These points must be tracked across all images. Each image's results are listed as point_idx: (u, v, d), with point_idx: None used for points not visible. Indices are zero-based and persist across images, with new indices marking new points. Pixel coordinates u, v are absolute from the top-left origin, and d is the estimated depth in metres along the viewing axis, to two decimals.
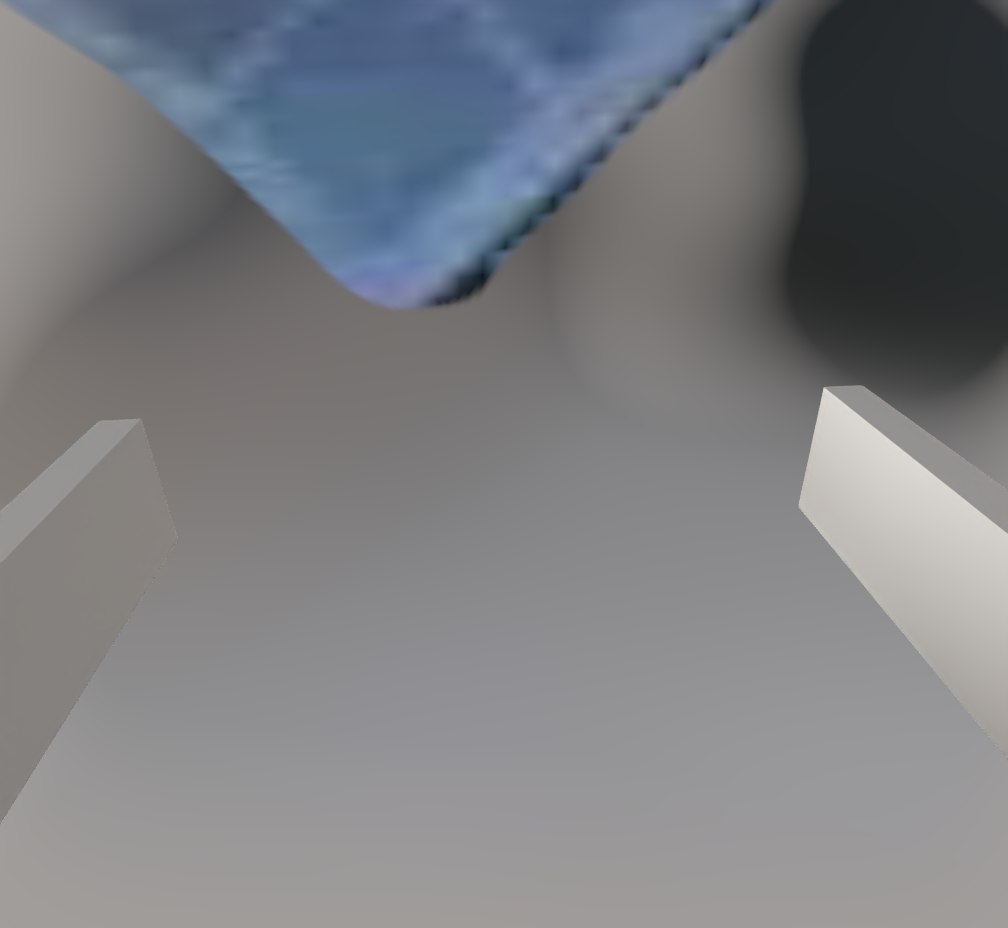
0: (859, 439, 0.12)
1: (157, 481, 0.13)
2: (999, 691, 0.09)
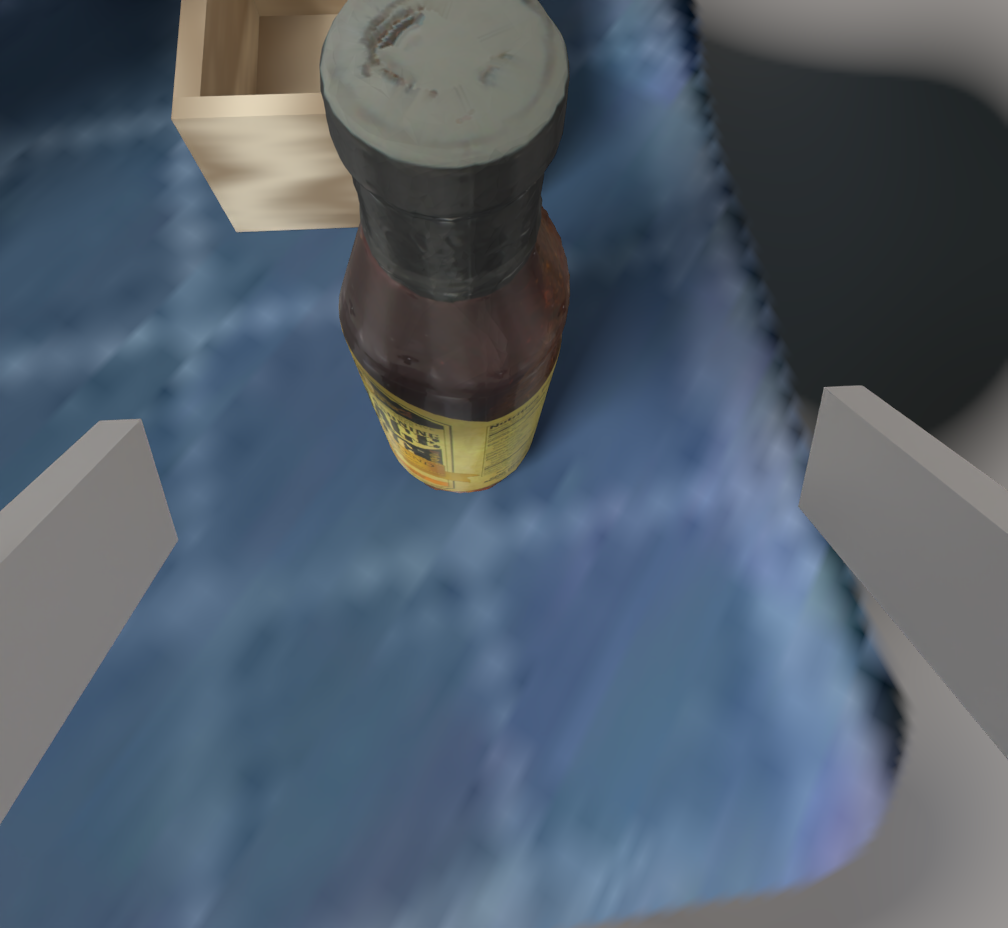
0: (860, 438, 0.12)
1: (157, 481, 0.13)
2: (999, 691, 0.09)
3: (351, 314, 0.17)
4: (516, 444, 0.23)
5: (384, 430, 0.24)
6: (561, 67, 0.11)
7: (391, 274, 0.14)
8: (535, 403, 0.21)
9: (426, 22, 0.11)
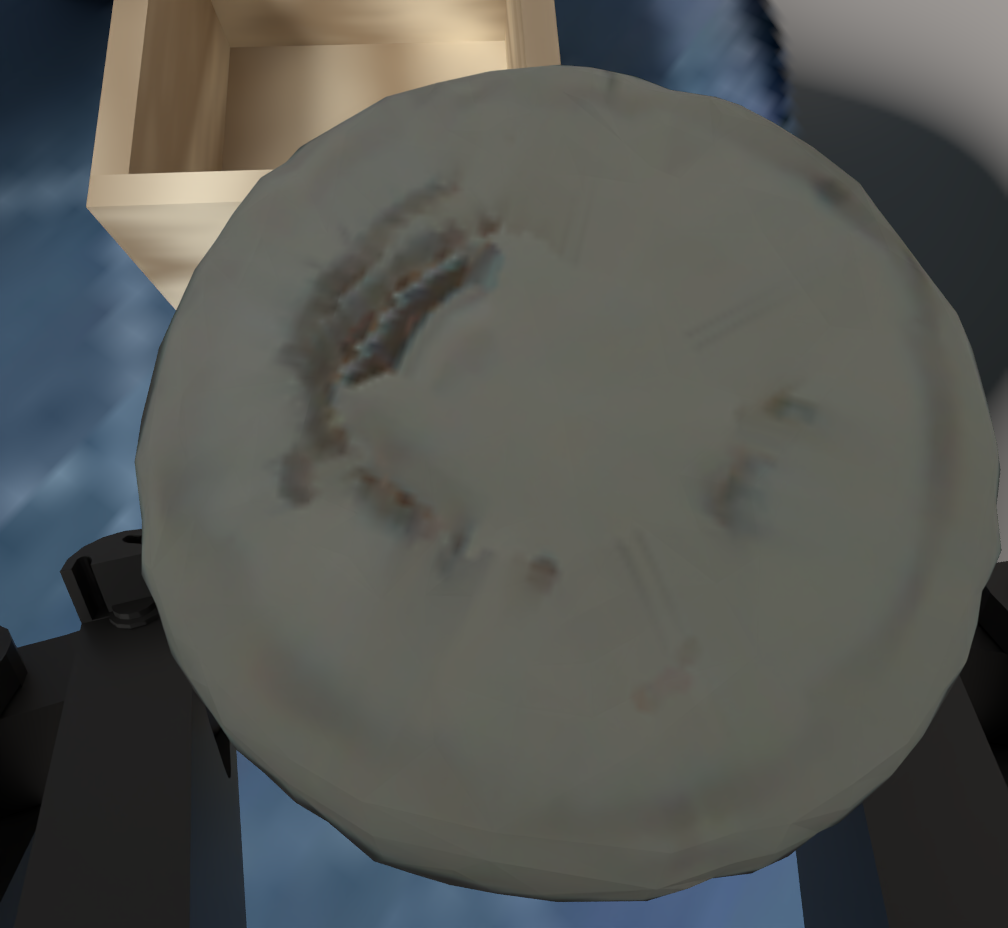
0: None
1: None
2: None
3: None
4: None
5: None
6: (978, 438, 0.03)
7: None
8: None
9: (508, 280, 0.03)
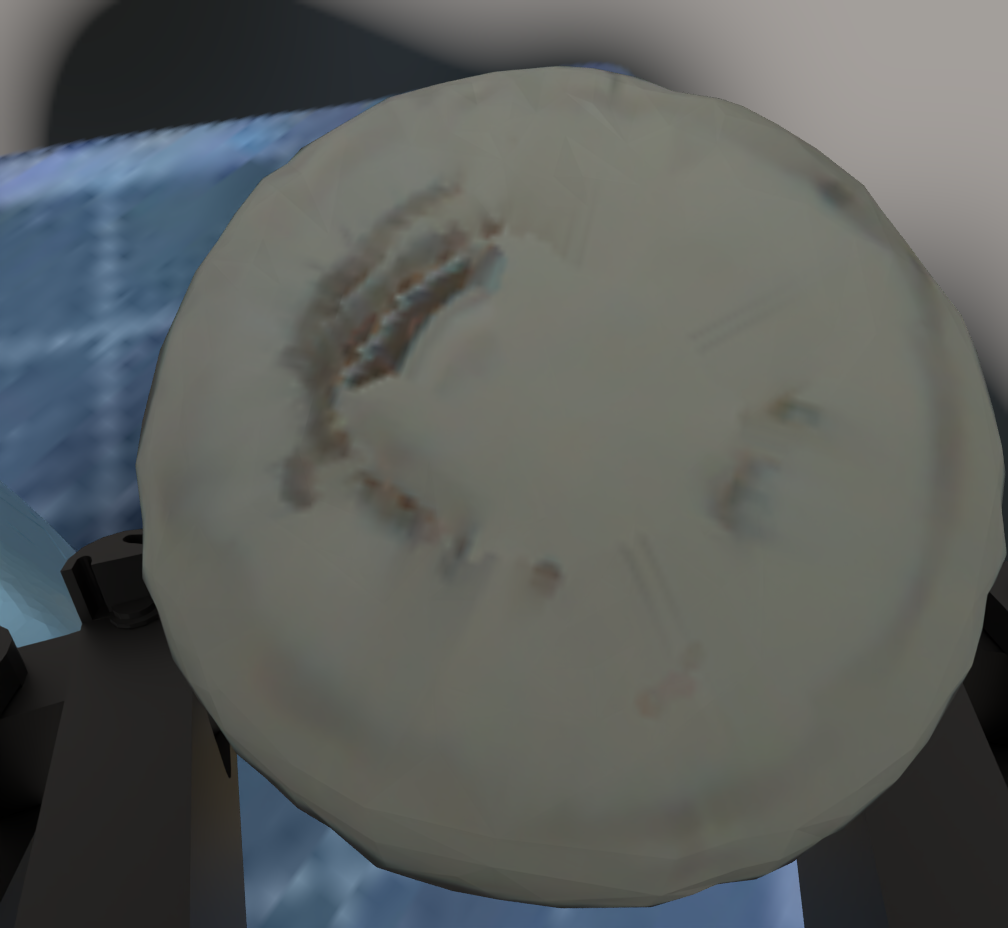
0: None
1: None
2: None
3: None
4: None
5: None
6: (982, 442, 0.03)
7: None
8: None
9: (510, 281, 0.03)
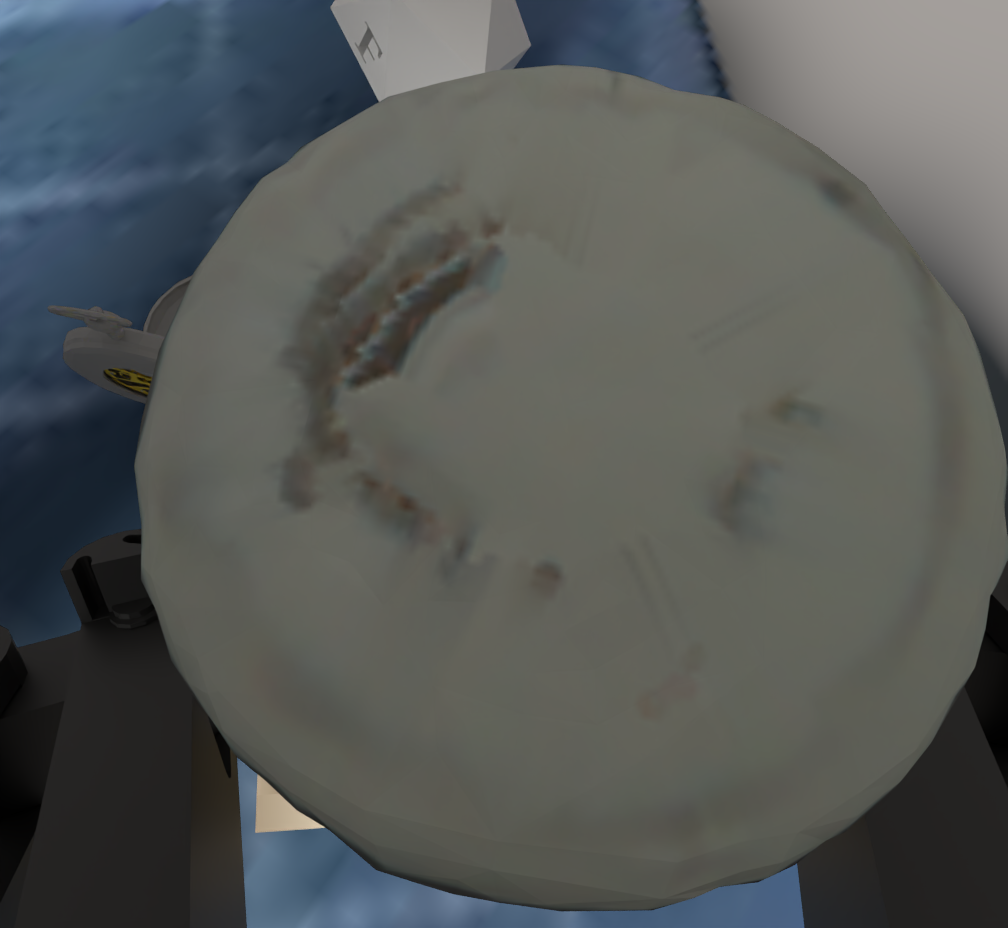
0: None
1: None
2: None
3: None
4: None
5: None
6: (985, 443, 0.03)
7: None
8: None
9: (510, 282, 0.03)
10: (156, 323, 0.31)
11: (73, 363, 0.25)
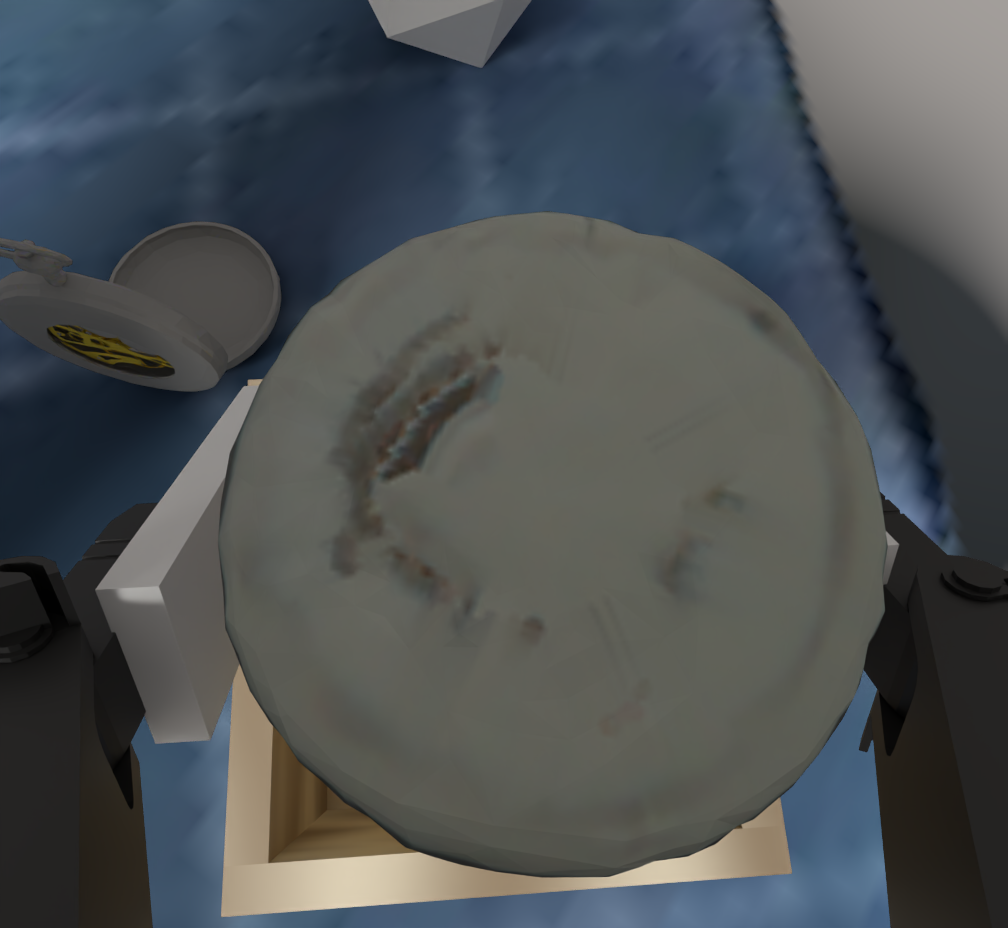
0: None
1: None
2: None
3: None
4: None
5: None
6: (870, 522, 0.04)
7: None
8: None
9: (507, 395, 0.04)
10: (121, 283, 0.27)
11: (9, 320, 0.21)
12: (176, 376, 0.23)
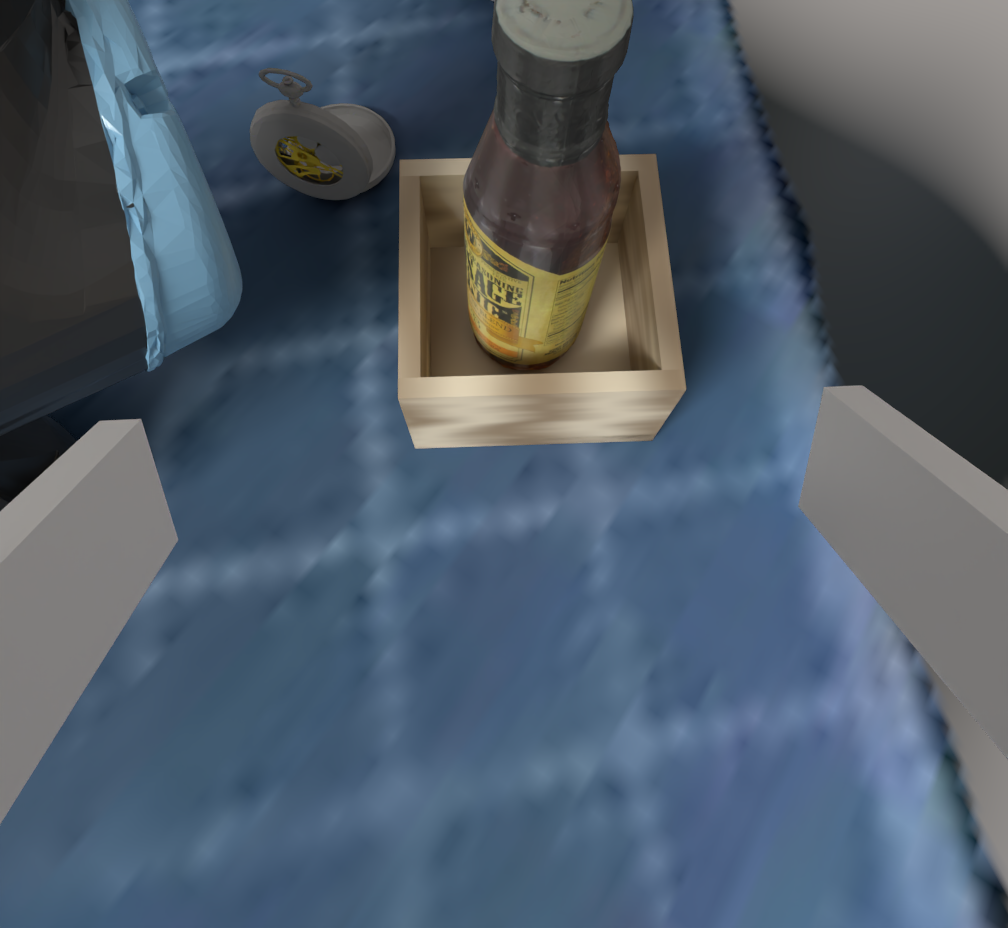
0: (859, 439, 0.12)
1: (157, 481, 0.13)
2: (999, 691, 0.09)
3: (476, 187, 0.25)
4: (573, 314, 0.32)
5: (474, 306, 0.33)
6: (629, 9, 0.19)
7: (512, 148, 0.23)
8: (591, 271, 0.29)
9: None
10: None
11: (257, 136, 0.36)
12: (341, 181, 0.39)
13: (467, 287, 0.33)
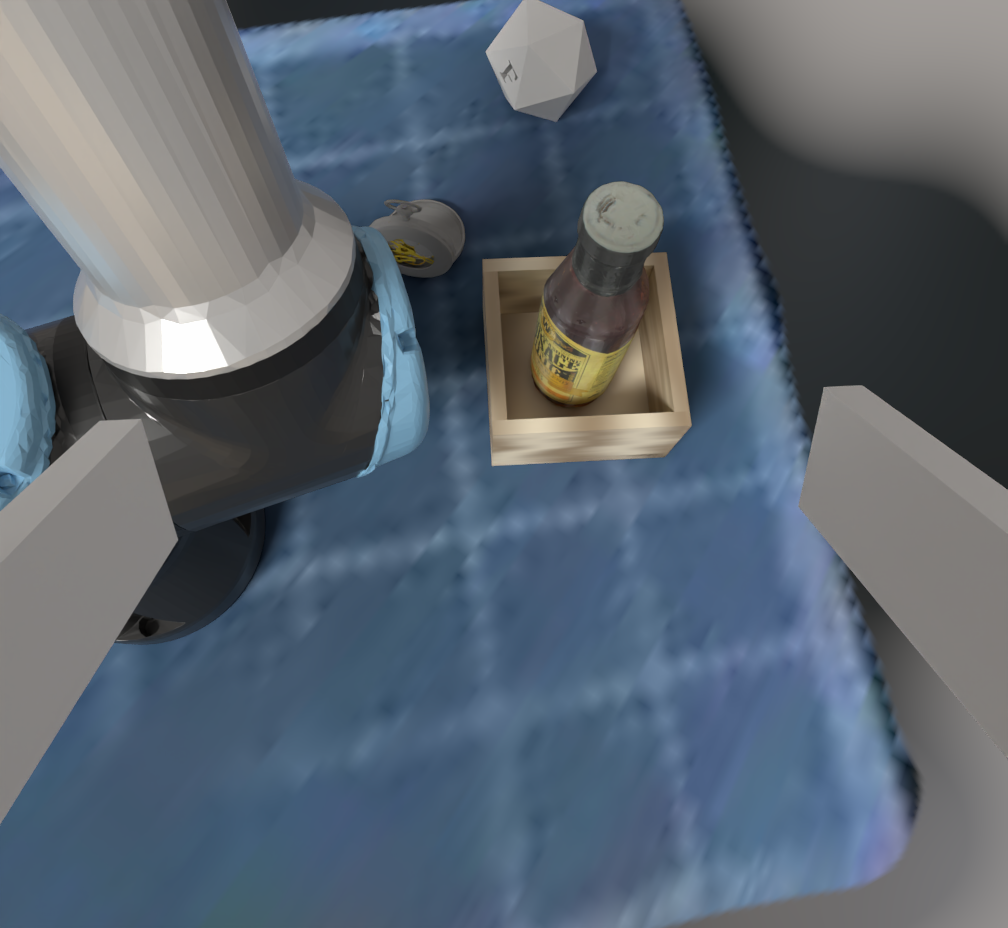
0: (859, 438, 0.12)
1: (157, 481, 0.13)
2: (999, 691, 0.09)
3: (555, 302, 0.39)
4: (611, 372, 0.45)
5: (539, 366, 0.46)
6: (661, 219, 0.33)
7: (584, 285, 0.36)
8: (626, 347, 0.43)
9: (616, 203, 0.33)
10: None
11: None
12: (431, 266, 0.52)
13: (534, 352, 0.47)
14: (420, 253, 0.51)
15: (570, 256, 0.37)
